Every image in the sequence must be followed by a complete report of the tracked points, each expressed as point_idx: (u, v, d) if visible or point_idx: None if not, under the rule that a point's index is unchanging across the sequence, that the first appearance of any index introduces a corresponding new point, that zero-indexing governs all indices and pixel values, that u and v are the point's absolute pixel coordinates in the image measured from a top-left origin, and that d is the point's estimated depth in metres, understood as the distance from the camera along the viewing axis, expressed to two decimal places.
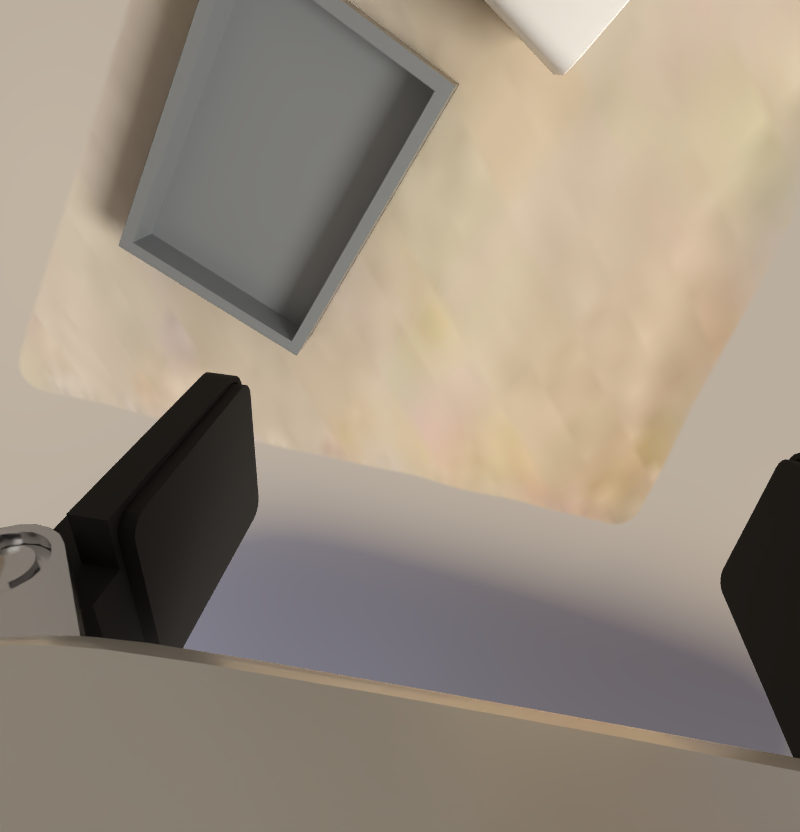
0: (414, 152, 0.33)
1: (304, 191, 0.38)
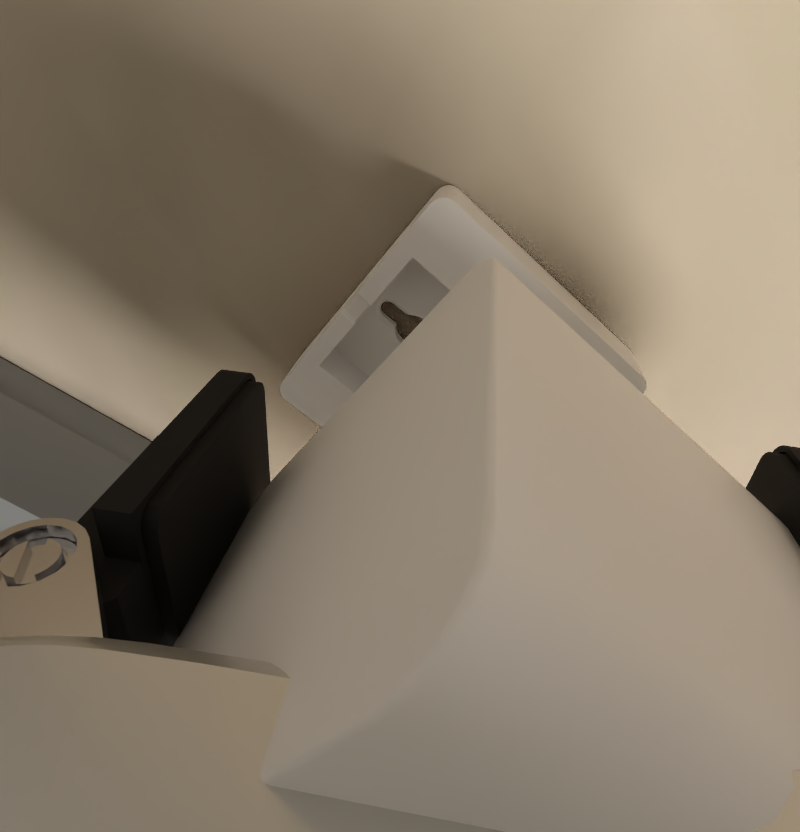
0: None
1: None
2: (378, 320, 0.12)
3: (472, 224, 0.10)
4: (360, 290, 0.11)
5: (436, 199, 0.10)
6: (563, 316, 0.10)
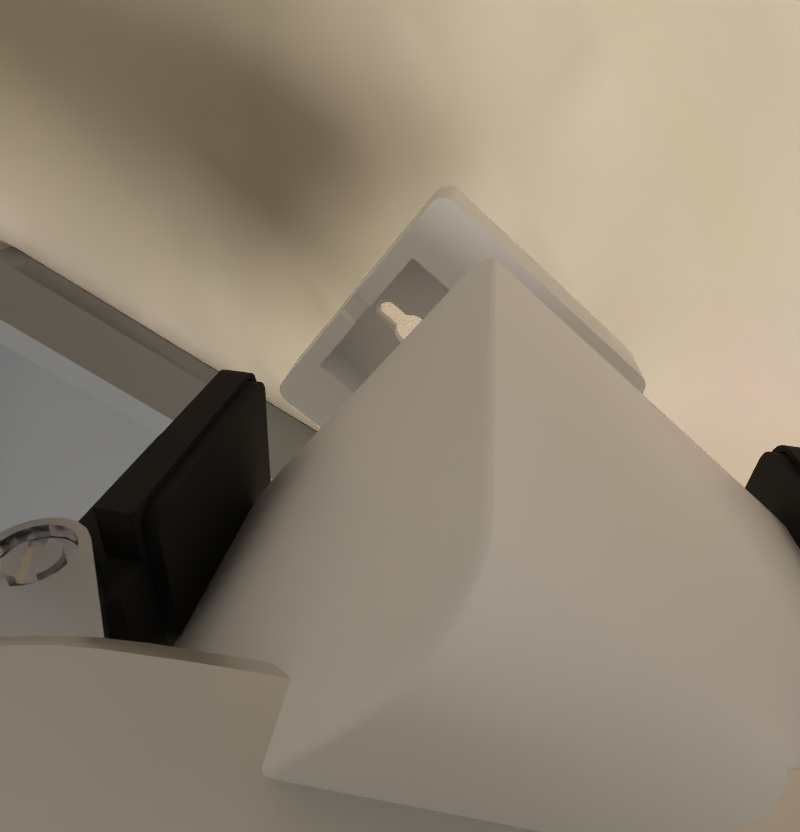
0: None
1: None
2: (378, 320, 0.12)
3: (471, 224, 0.10)
4: (360, 290, 0.11)
5: (436, 199, 0.10)
6: (562, 316, 0.11)
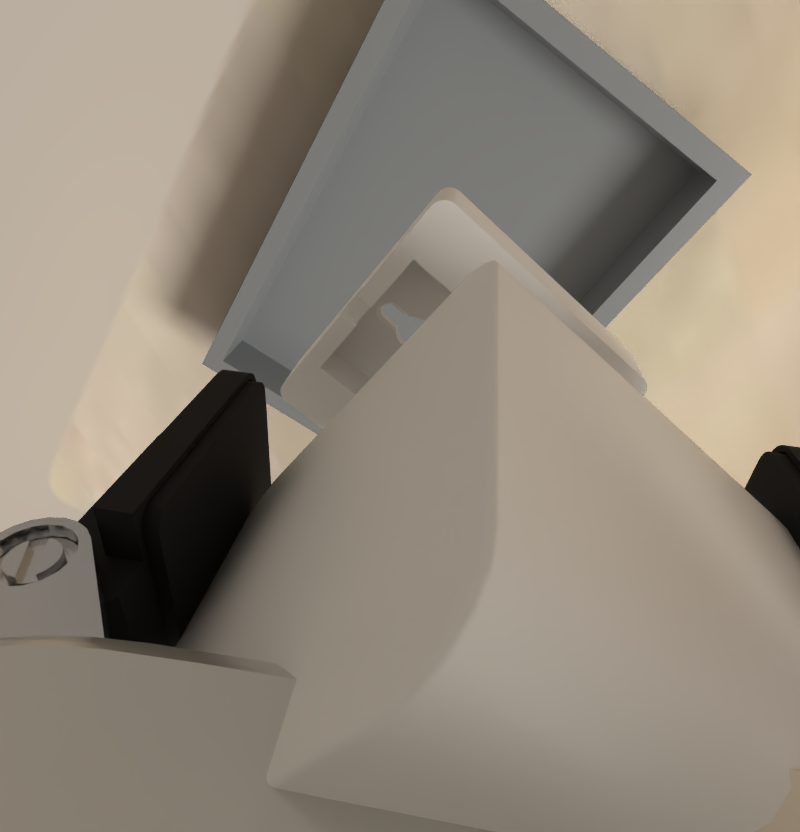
0: (663, 263, 0.22)
1: None
2: (379, 322, 0.12)
3: (472, 226, 0.10)
4: (361, 292, 0.11)
5: (437, 201, 0.10)
6: (564, 318, 0.11)
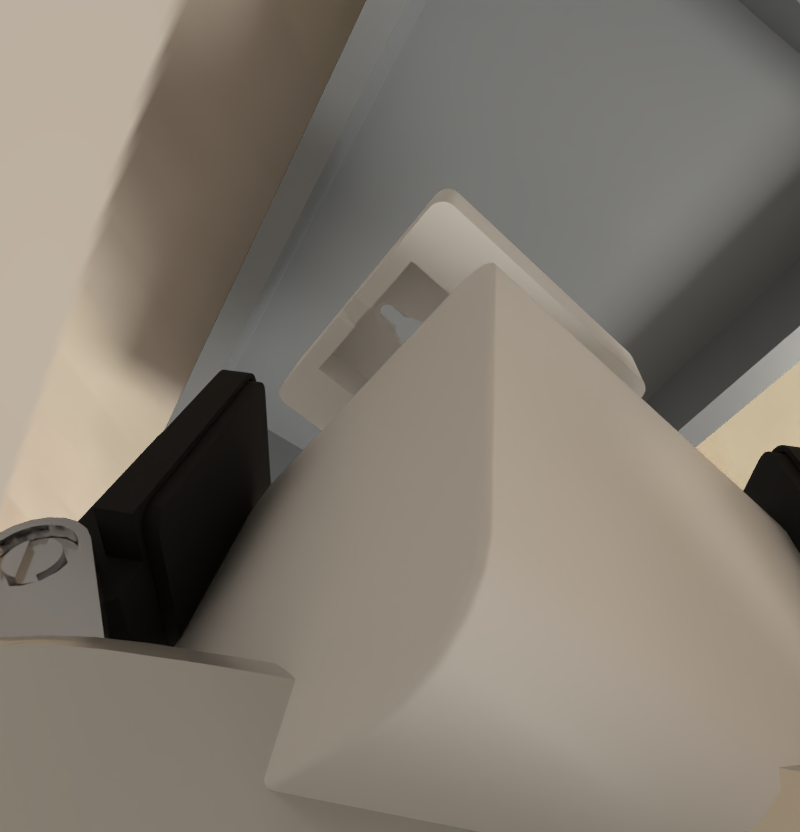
0: None
1: None
2: (377, 323, 0.12)
3: (471, 228, 0.10)
4: (359, 293, 0.11)
5: (435, 203, 0.10)
6: (562, 319, 0.11)
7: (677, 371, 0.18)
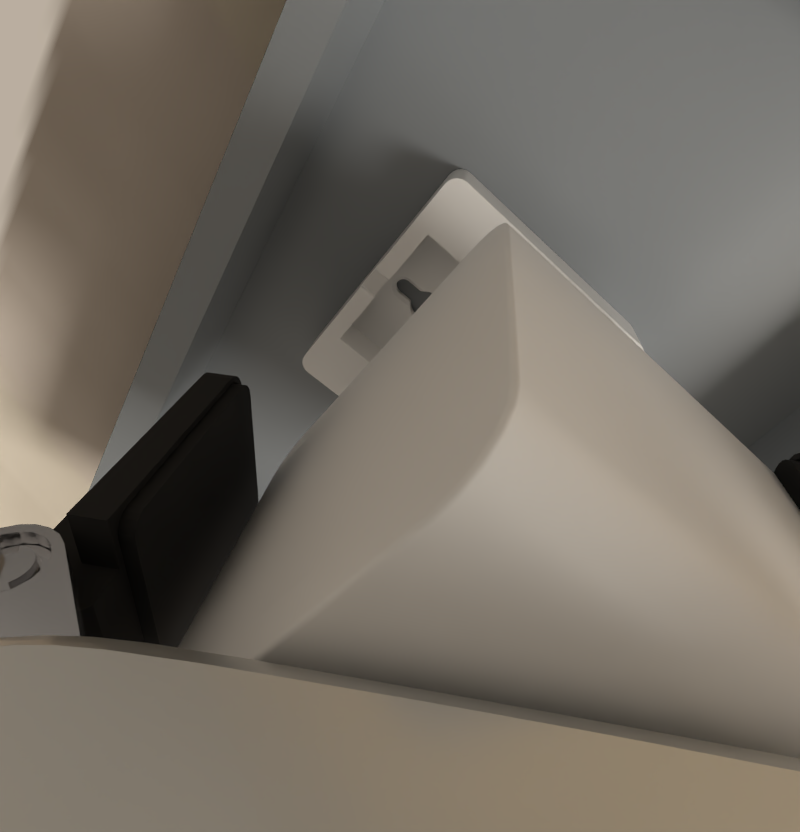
0: None
1: None
2: (394, 297, 0.13)
3: (483, 203, 0.11)
4: (379, 266, 0.12)
5: (450, 180, 0.11)
6: None
7: None
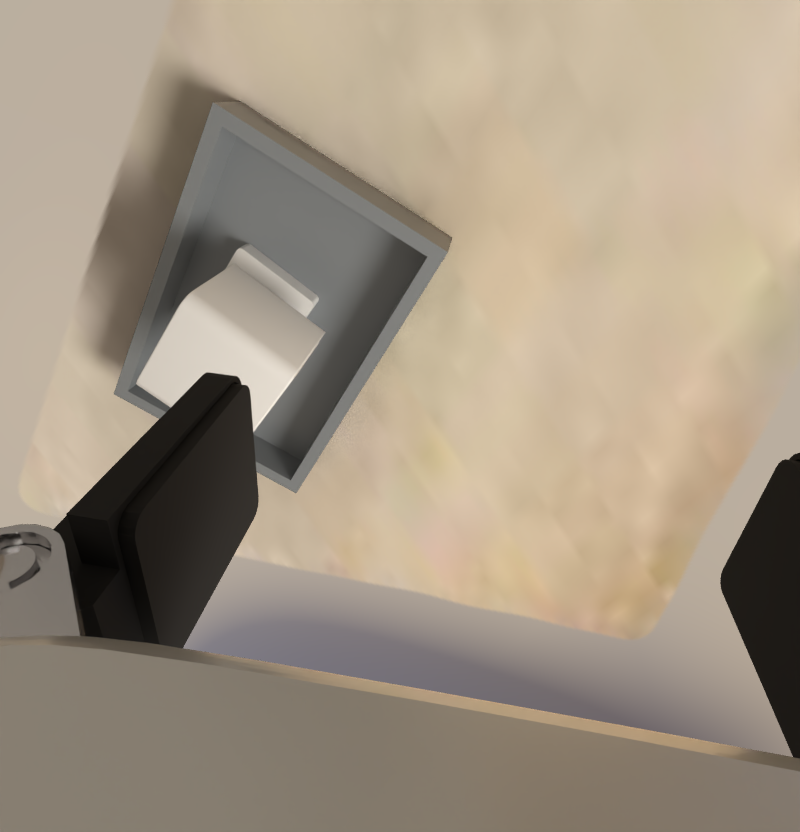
0: (408, 311, 0.33)
1: None
2: None
3: (249, 255, 0.34)
4: None
5: None
6: (282, 282, 0.34)
7: (368, 349, 0.37)
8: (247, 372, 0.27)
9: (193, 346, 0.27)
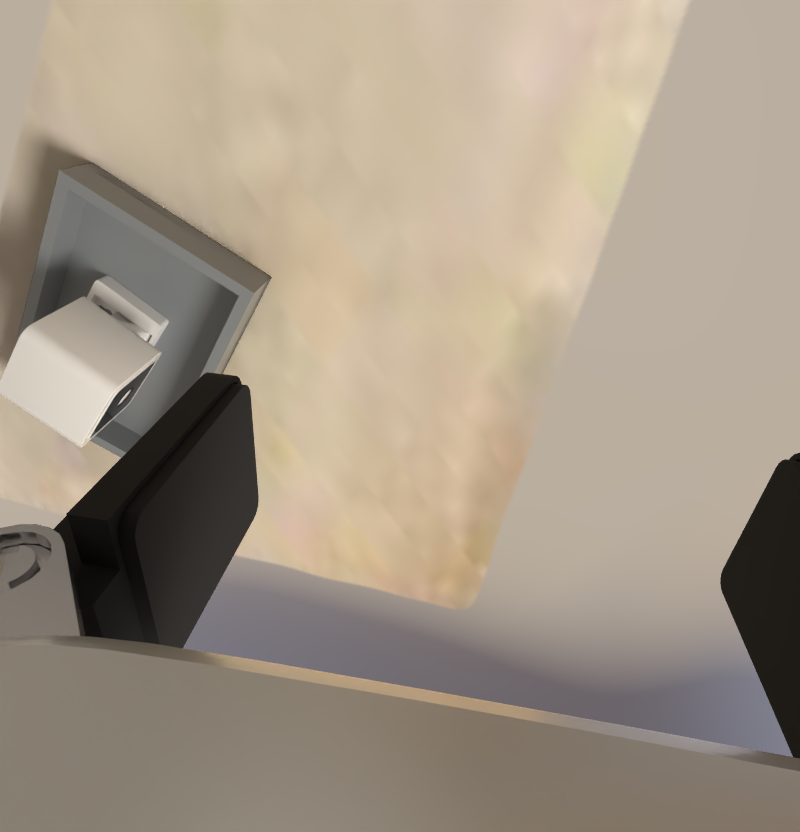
0: (230, 337, 0.40)
1: None
2: None
3: (105, 286, 0.41)
4: None
5: (96, 280, 0.41)
6: (133, 308, 0.42)
7: None
8: (77, 387, 0.35)
9: (34, 365, 0.35)
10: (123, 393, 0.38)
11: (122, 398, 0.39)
